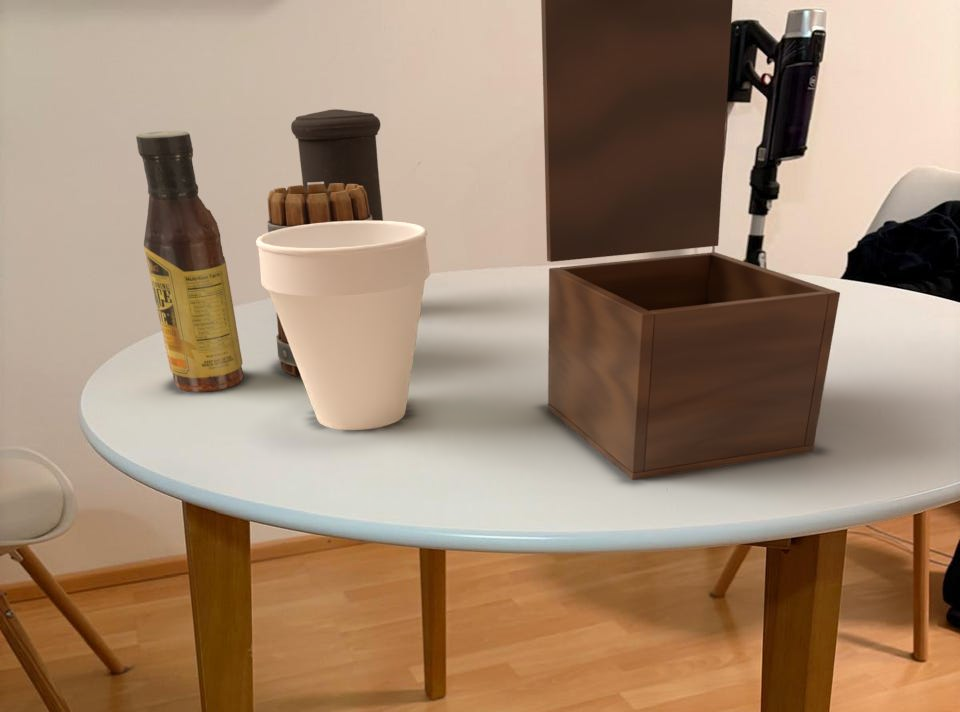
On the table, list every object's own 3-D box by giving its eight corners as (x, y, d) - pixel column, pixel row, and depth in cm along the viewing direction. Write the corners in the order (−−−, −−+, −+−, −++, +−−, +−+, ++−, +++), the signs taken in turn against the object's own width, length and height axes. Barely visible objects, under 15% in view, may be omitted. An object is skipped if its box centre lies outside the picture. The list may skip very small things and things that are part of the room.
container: (316, 308, 105) (292, 109, 95) (394, 304, 106) (378, 105, 95) (313, 327, 98) (286, 113, 87) (396, 322, 99) (379, 109, 88)
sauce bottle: (174, 380, 83) (121, 131, 72) (244, 372, 84) (201, 127, 74) (174, 401, 78) (117, 137, 67) (249, 392, 79) (204, 132, 68)
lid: (734, -20, 61) (727, -18, 62) (545, -16, 58) (540, -14, 59) (718, 245, 69) (713, 245, 70) (550, 261, 66) (546, 261, 67)
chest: (812, 455, 63) (840, 292, 57) (632, 484, 60) (642, 314, 54) (701, 391, 75) (715, 251, 70) (547, 412, 72) (548, 268, 66)
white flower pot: (263, 412, 74) (233, 232, 67) (399, 385, 79) (384, 214, 72) (316, 459, 65) (288, 256, 58) (466, 425, 70) (458, 234, 63)
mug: (398, 378, 81) (383, 192, 73) (279, 388, 80) (250, 200, 72) (385, 335, 94) (371, 173, 86) (282, 342, 93) (258, 179, 85)
